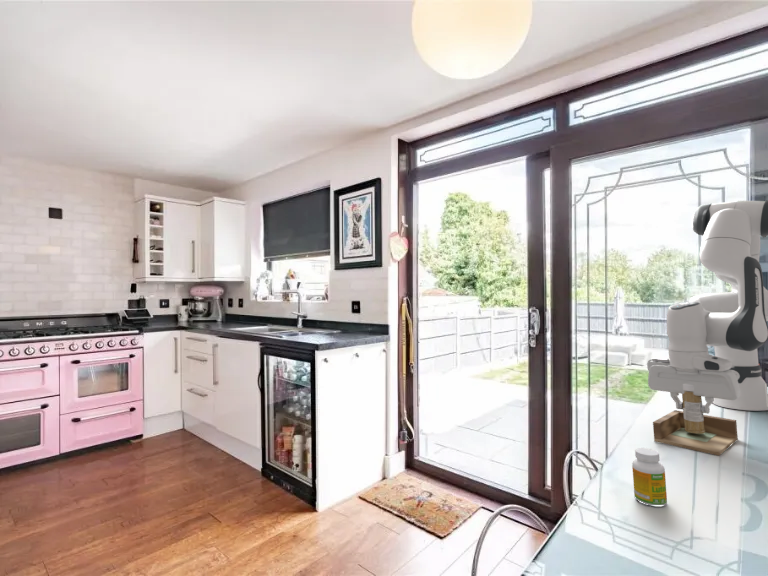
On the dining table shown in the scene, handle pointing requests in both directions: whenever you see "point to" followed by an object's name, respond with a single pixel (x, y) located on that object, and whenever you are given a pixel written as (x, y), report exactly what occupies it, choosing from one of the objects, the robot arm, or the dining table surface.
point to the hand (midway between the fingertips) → (692, 410)
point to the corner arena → (712, 441)
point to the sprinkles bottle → (692, 410)
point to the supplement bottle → (649, 477)
